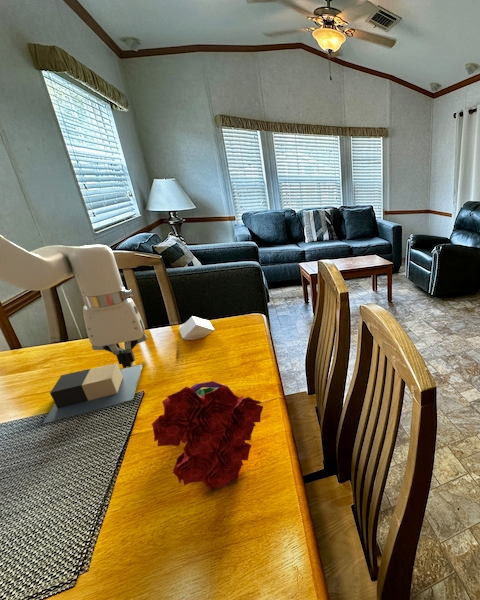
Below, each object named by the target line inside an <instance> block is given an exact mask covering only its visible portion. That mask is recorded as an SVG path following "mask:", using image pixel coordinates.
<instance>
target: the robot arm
mask: <svg viewBox="0 0 480 600" xmlns="http://www.w3.org/2000/svg"><path fill="white" fill-rule="evenodd" d="M72 277H75V280H76V283H77V285H78V288H79V291H80V293H81V296H82V299H83V302H84V304H85V305H84V306H83V307H82V313H83V321H84V325H85V326H84V327H85V330H86V334H87V337H88V341H89V343H90V345H91V349H92V350H93V351H107V352H109V353H112V354H113V355H114V356H116V360H117V363H118V365H121V366H122V369H124V368H129V367H133V363H134V362H136V357H135V355H134V351H133V349H134V348H135V347H136V346H137V345H138V344H141V343H143V342H146V341H147V340H148V335H147V333H146V332H145V330H146V329H145V324H144V321H143V319H142V317H141V314H140V312H139V309H138V307H137V305H136V303H135V302H134V299H132V298H130V297H134V296H135V295H134V294H135V293H134V290H132V289H130V290H128V289H126V287H125V286H124V284H123V283H124V282H123V281H122V277H121V273H120V271H119V267H118V265H117V261H116V257H115V255H114V251H113V249H111V247H110V246H108V245H104V244H90V245H89V244H88V245H81V246H69V245H67V246H66V245H46V246H42V247H39V248H35V249H33V250H29V251H28V250H26V249H25V248H23V247H21V246H19V245H17V244H15V243H13V242H12V241H10V240H9V239H7V238H5V237H4V236H3V235H1V234H0V281H2V282H4V283H7V284H9V285H11V286H13V287H16V288H20V289H22V290H27V291H37V292H38V291H45V290H48V289H50V288H53V287H54V286H57V284H59V283H62V282H63V281H65V280H67V279H69V278H72ZM121 343H123V345H124V348H122V346H121V345H120V344H121Z"/></svg>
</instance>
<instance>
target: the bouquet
mask: <svg viewBox="0 0 480 600" xmlns="http://www.w3.org/2000/svg"><path fill="white" fill-rule="evenodd" d="M166 397H167V398H165V399H163V400H162V402H161V403H162V406H163V414H161V415H158V417H157V418H155V420H154V421H153V422H152V423H151V426H152V431H153V442H154V443H155V442H157V447H168V446H173V447H180V445H181V443H183V444H185V445H184V447H183V452H182V453H181V454H180V455H178V457H177V458H176V462H175V464H174V467H173V468H172V469H173V470H172V474H173V475H174V476H175V477H177V481H178V483H179V484H181V482H182V483H183V486H187V485H190V484H195V483H199V482H201V483H203V484H204V485H205V486H207V487H208V489H209V490H210V491H212V490H213V488H214V489H215V488H217V489H221V488H222V487H224V486H226V485H229V484H230V483H231V482H232V480H234V481H235V480H236V478H239V476H240V475H239V474H240V471H241V468H242V466H244V462H243V461H249V457H250V452H251V448H252V444H250V443H248V442H251V441H252V434H253V431H254V428H255V427H256V425H257V424H256V423H261V415H262V413H263V409H264V406H263V405H260V404H261V403H263V401H259V400H256V399H253V398H252V397H250V396H247V397H245V395H242V396H240V397H239V396H238V395H236V394H235V393H234V392H233V391H232V390H231V388H230V387H229V386H228V385H225V384H222V383H219V382H217V381H213V380H212V381H206V382H201V383H195V384H193V385H192V386H190V387H188V386H185V387H183V388H181V389H180V390H179V391H177V392H174V393H171V394H169V395H167V396H166Z"/></svg>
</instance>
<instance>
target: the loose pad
mask: <svg viewBox="0 0 480 600" xmlns="http://www.w3.org/2000/svg"><path fill="white" fill-rule="evenodd" d="M89 369H90V371H89V373H88V374H87V376H86V378H85V380H84V382H83V384H82V388H83V390H84V392H85V394H86V397H87V399H88V401H89V400H93V399H97V398H101V397H105V396H109V395H113V394H117V392H118V389H119V387H120V384H121V381H122V378H123V376H122V373H121V371H120V369H121V368H120V364H119V362H115V363H110V364H106V365H102V366H98V367H93V368H89Z"/></svg>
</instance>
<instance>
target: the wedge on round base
mask: <svg viewBox="0 0 480 600" xmlns="http://www.w3.org/2000/svg"><path fill="white" fill-rule="evenodd" d="M178 329H179V333H180V337H181V339H182V340H186V341H193V340H194V341H195V340H199V339H203V338H205V337H207V336H209V335H210V334H212V332H213V331H215V328H214V327H213V324H212V323H211V322H210V320H209V319H205V318H201V317H198V316H193V315H191V317H189V319H187V320H186V321H185V322H184V323H182V324H181V325H180V326H179V327H178Z"/></svg>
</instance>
